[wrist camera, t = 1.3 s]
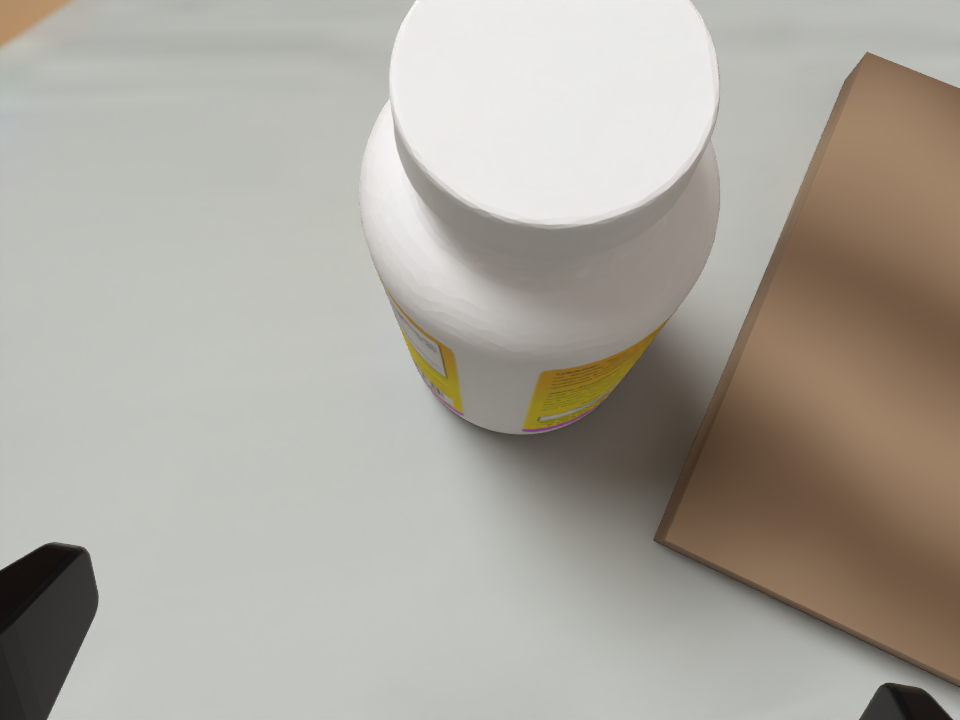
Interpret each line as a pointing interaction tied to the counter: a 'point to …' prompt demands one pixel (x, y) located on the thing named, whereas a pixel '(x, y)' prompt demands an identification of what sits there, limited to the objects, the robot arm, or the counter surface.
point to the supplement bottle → (541, 195)
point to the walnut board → (849, 387)
